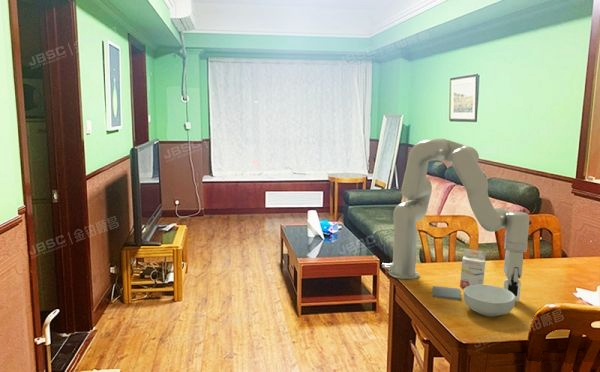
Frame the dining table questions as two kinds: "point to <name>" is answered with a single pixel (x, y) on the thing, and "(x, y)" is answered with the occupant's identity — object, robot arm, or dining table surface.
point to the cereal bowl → (489, 299)
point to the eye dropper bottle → (518, 287)
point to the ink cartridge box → (472, 268)
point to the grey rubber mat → (446, 293)
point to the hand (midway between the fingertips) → (511, 292)
